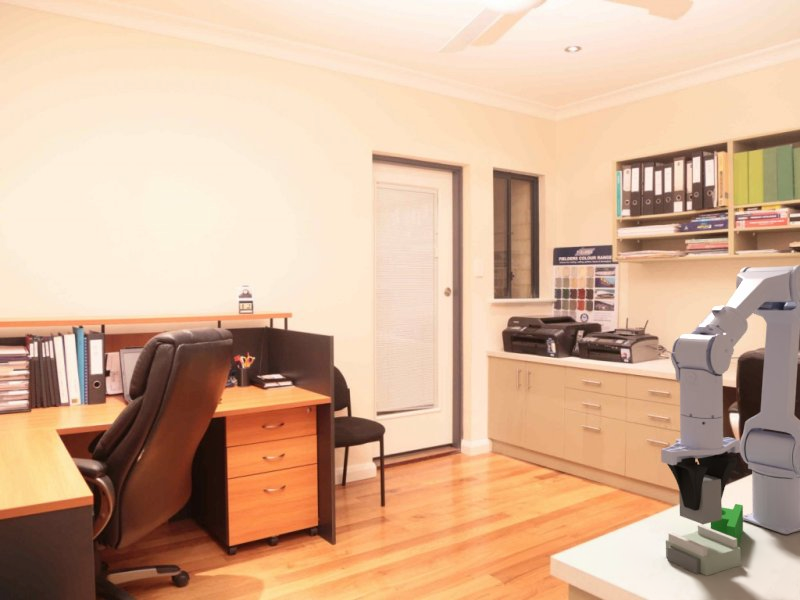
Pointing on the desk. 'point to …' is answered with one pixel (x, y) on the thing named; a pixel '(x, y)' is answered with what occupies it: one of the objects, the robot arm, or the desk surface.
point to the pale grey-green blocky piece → (703, 551)
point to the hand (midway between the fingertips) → (702, 505)
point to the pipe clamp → (730, 522)
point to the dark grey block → (706, 502)
